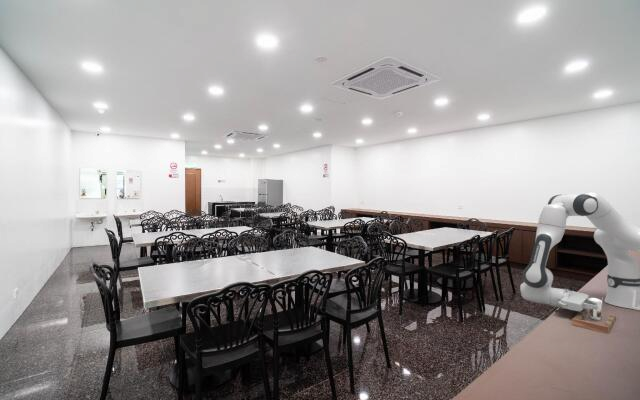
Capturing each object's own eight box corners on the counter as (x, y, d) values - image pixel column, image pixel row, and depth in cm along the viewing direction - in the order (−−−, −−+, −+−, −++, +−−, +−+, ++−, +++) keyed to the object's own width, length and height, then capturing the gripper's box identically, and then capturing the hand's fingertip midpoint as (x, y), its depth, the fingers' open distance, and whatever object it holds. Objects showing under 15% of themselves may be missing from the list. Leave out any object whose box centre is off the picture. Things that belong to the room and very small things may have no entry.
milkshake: (607, 321, 132) (607, 298, 132) (593, 320, 133) (592, 297, 134) (599, 317, 137) (599, 295, 137) (586, 316, 138) (586, 294, 138)
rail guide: (582, 311, 144) (582, 306, 144) (615, 318, 135) (615, 313, 135) (571, 324, 128) (571, 319, 128) (608, 333, 120) (608, 327, 120)
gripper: (554, 296, 138) (595, 303, 128) (565, 287, 152) (602, 294, 141) (554, 309, 138) (595, 318, 128) (565, 300, 152) (602, 307, 141)
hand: (599, 305), depth 134 cm, fingers open, 6 cm apart
